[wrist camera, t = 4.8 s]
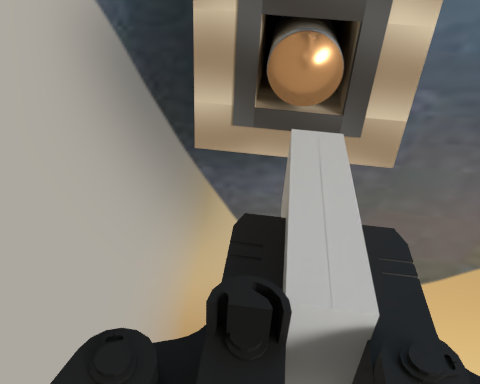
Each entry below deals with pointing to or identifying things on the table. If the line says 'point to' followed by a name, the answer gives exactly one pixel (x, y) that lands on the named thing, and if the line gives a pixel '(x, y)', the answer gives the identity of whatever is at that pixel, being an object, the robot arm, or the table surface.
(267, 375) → the robot arm
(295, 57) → the peg
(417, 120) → the table surface
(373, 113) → the block
